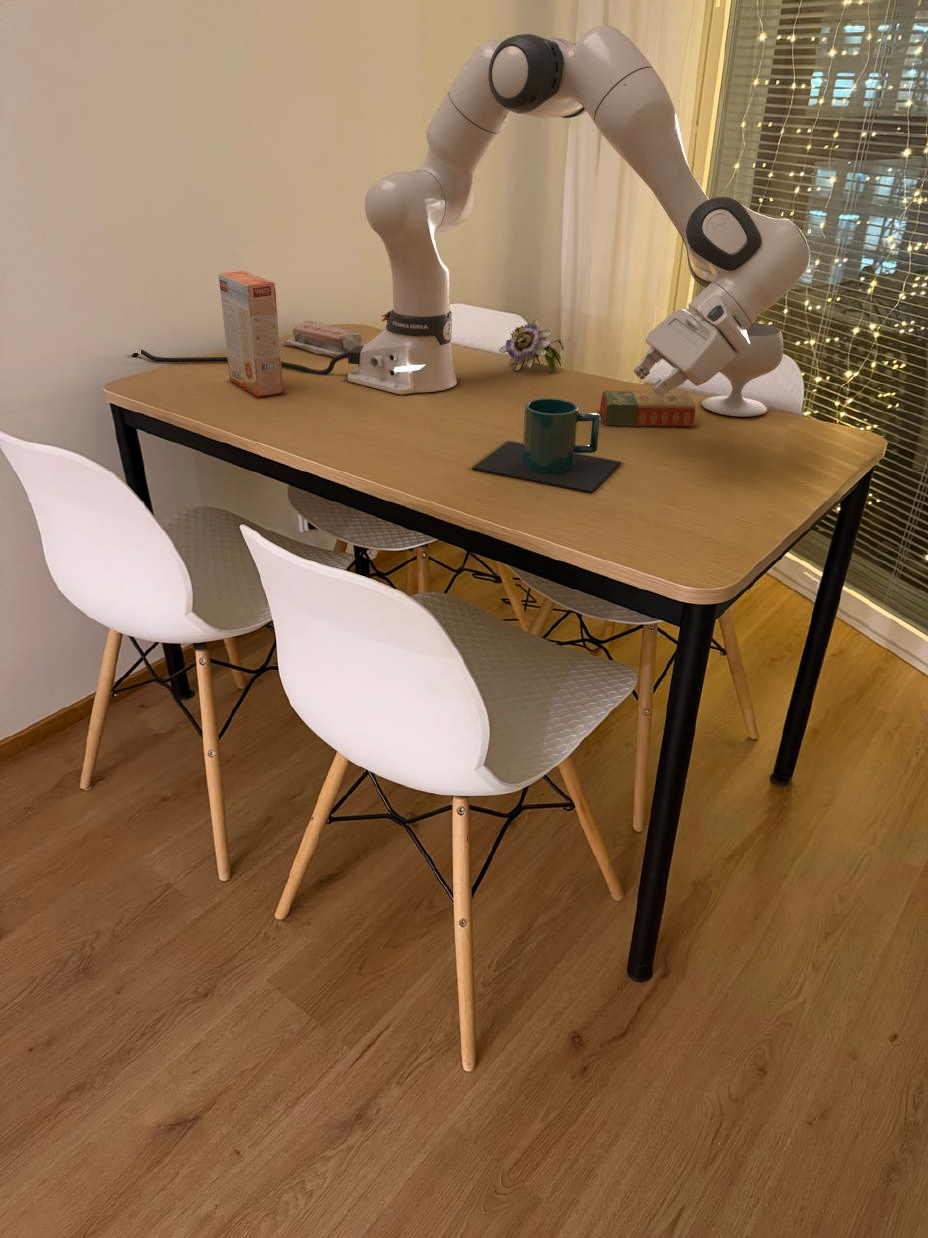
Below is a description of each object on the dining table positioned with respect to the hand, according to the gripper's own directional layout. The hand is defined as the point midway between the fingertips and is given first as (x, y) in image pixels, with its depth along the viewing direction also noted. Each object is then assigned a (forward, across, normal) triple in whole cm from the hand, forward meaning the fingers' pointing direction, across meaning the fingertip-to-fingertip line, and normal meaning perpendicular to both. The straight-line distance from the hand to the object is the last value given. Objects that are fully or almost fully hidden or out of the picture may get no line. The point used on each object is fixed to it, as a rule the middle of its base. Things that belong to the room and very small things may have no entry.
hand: (646, 383), depth 141 cm
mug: (+18, 0, 0) cm, 18 cm away
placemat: (+20, 0, -1) cm, 20 cm away
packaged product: (+44, -77, -26) cm, 93 cm away
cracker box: (+54, -48, -36) cm, 80 cm away
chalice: (-10, -27, +29) cm, 41 cm away
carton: (+3, -22, +15) cm, 27 cm away
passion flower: (+13, -58, +5) cm, 60 cm away
